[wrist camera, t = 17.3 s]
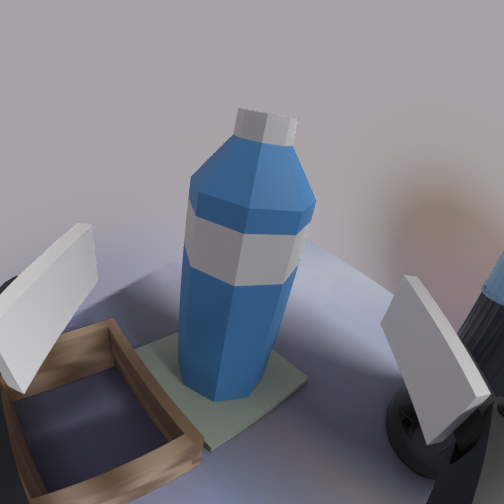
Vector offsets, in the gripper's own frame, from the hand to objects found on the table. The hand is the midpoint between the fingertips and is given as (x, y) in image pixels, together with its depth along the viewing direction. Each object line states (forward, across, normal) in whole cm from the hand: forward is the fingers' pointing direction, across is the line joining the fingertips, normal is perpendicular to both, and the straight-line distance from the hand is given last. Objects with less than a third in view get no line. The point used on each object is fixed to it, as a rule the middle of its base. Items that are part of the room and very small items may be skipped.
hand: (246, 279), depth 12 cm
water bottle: (+11, 0, -19) cm, 22 cm away
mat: (+11, 0, -20) cm, 23 cm away
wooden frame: (0, -12, -20) cm, 23 cm away
